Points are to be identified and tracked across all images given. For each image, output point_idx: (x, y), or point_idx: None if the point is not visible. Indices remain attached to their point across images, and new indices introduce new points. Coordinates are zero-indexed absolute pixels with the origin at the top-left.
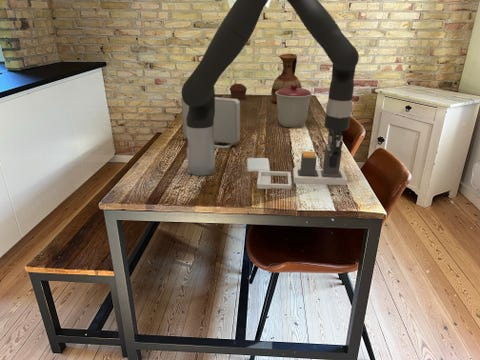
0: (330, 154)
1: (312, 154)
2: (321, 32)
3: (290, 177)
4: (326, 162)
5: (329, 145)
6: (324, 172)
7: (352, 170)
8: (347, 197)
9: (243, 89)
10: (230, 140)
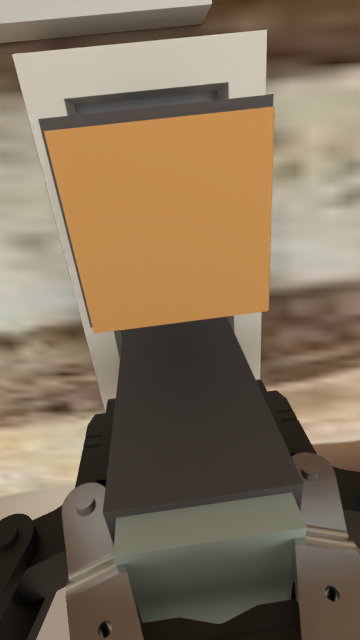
0: (74, 508)
1: (141, 285)
2: None
3: (68, 11)
4: (117, 396)
5: (129, 609)
6: (130, 333)
7: (340, 424)
8: (6, 408)
9: None
10: None
